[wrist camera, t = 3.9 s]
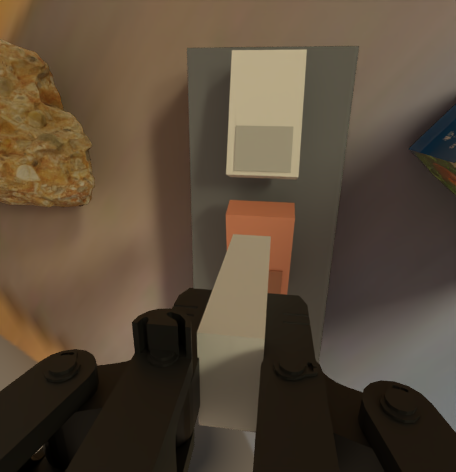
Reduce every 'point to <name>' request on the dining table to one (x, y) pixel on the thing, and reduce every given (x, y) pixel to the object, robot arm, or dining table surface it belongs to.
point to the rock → (39, 137)
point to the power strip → (264, 189)
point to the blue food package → (440, 149)
